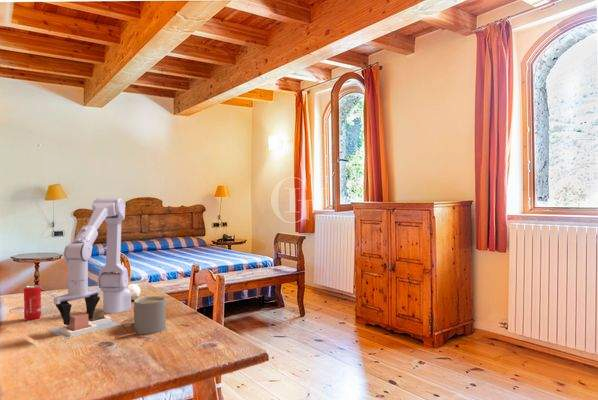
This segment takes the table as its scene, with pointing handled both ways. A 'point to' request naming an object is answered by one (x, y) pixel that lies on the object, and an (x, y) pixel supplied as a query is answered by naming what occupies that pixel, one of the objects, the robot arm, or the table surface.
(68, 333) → the board
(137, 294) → the ornament
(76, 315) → the brick-red block
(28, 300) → the beverage can
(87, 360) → the table surface
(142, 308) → the coffee mug
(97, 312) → the walnut cube
